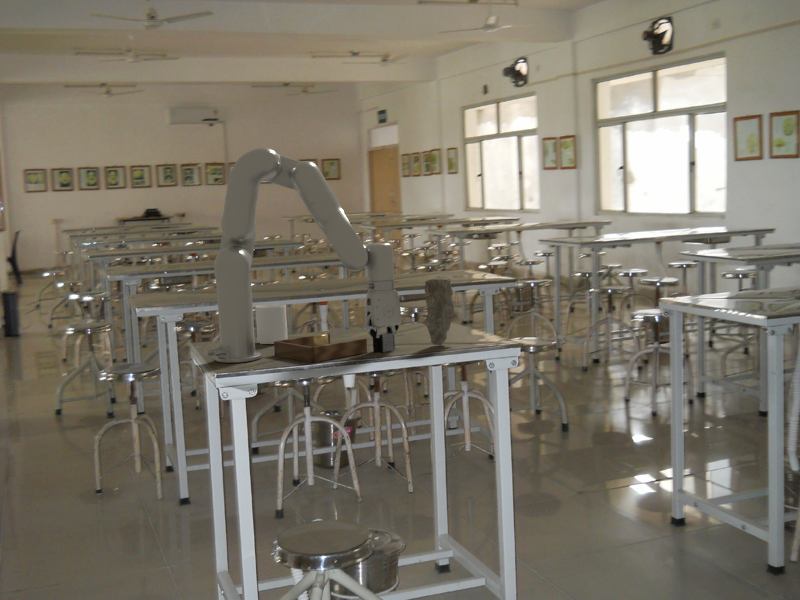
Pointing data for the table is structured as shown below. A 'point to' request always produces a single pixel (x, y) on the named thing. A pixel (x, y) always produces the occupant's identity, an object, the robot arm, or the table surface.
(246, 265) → the robot arm
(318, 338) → the brass part
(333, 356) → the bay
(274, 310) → the white box
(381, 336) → the steel block
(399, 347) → the table surface
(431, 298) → the stone tool
